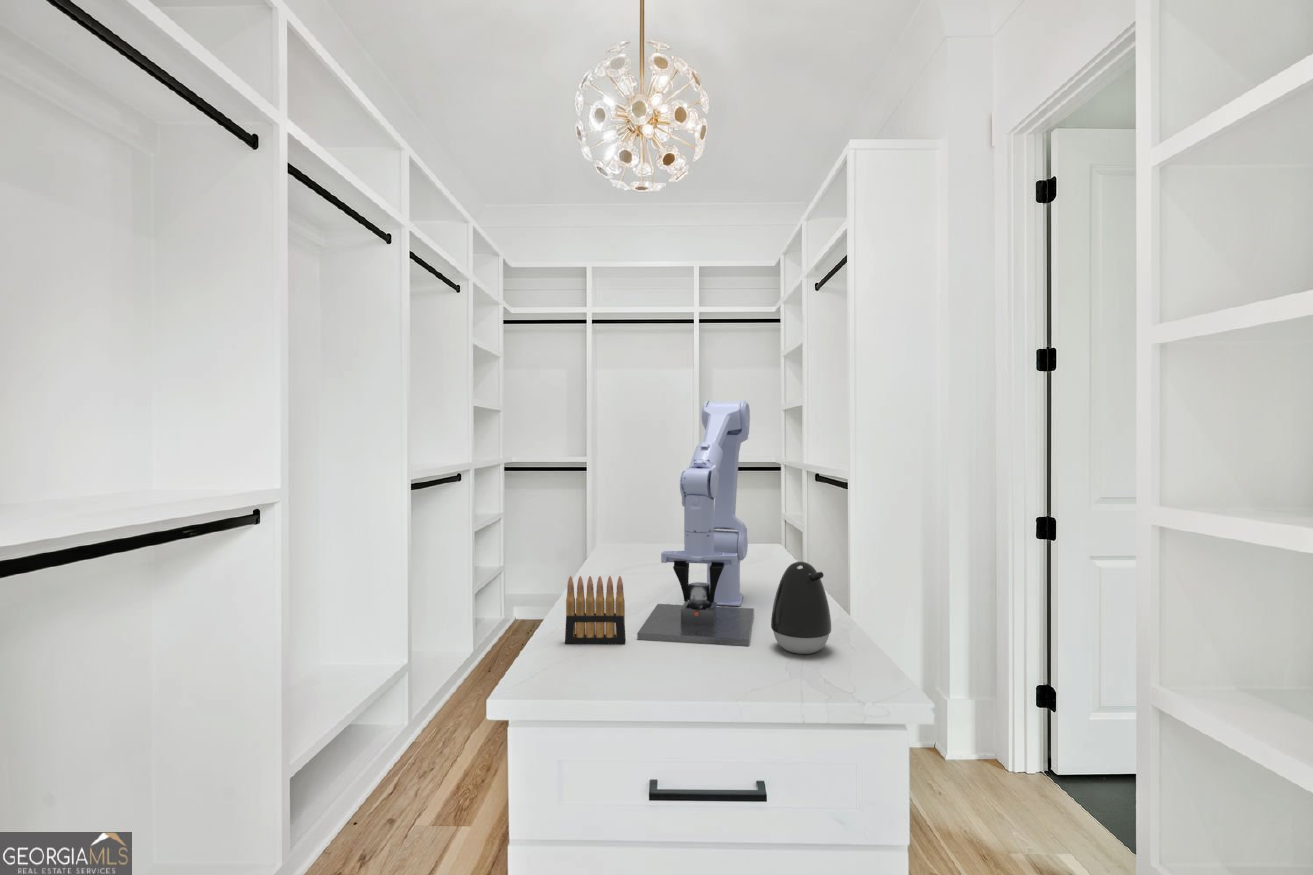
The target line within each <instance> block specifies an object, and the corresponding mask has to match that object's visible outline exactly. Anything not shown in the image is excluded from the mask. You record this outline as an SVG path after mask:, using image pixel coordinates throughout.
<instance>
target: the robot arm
mask: <svg viewBox="0 0 1313 875" xmlns="http://www.w3.org/2000/svg"><path fill="white" fill-rule="evenodd" d="M701 422H702V426H703V428H704V431H705V432H704V437H703V441H702V442H700V443H698V444H697V445H696V447H695V449H694V453H693V455H692V458H691V460H690V463H689V467H687V468H686V469H685V470H683V471H682V472H681V474H680V479H679V491H680V495H681V505H682V507H683V510H684V511H683V513H684V514H683V518H684V519H683V521H684V523H683V524H684V525H683V526H684V528H683V532H684V533H683V534H684V535H683V537H684V540H683V542H684V543H683V544H684V545H683V546H684V550H662V552H661V553H660V554H661V556H660V559H661V560H660V561H661V564H663V563H664V564H666V563H673V566H672V568H673V571H674V573H675V576H676V577H677V579H678V583H679V584H680V587H681V590H682V597H683V602H685V601H686V602H688V601H689V584H690V582H689V577H690V576H689V574H690V573H689V572H690V564H706V583H708V584H709V585H710V596H709V602H710V603H713V602H717V606H732V607H733V606H734V607H735V606H737V607H741V605H742V601H743V597H744V593H742V592H741V561H744V560H745V558H746V557H747V554H748V544H749V543H748V528H747V526H746V524H745V523H744V522H743V521H742V520H740V519H739V518H738V517H737V516H736V508H737V507H736V506H737V491H738V489H737V488H738V473H739V456H740V450H741V445H742V443H744V442H745V441H747V440H749V434H750V422H751V412H750V405H749V402H747V400H744V399H743V400H736V401H733V400H730V401H727V400H726V401H724V400H722V401H710V400H707V401H705V402H704V403H703V404H702V407H701Z"/></svg>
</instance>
